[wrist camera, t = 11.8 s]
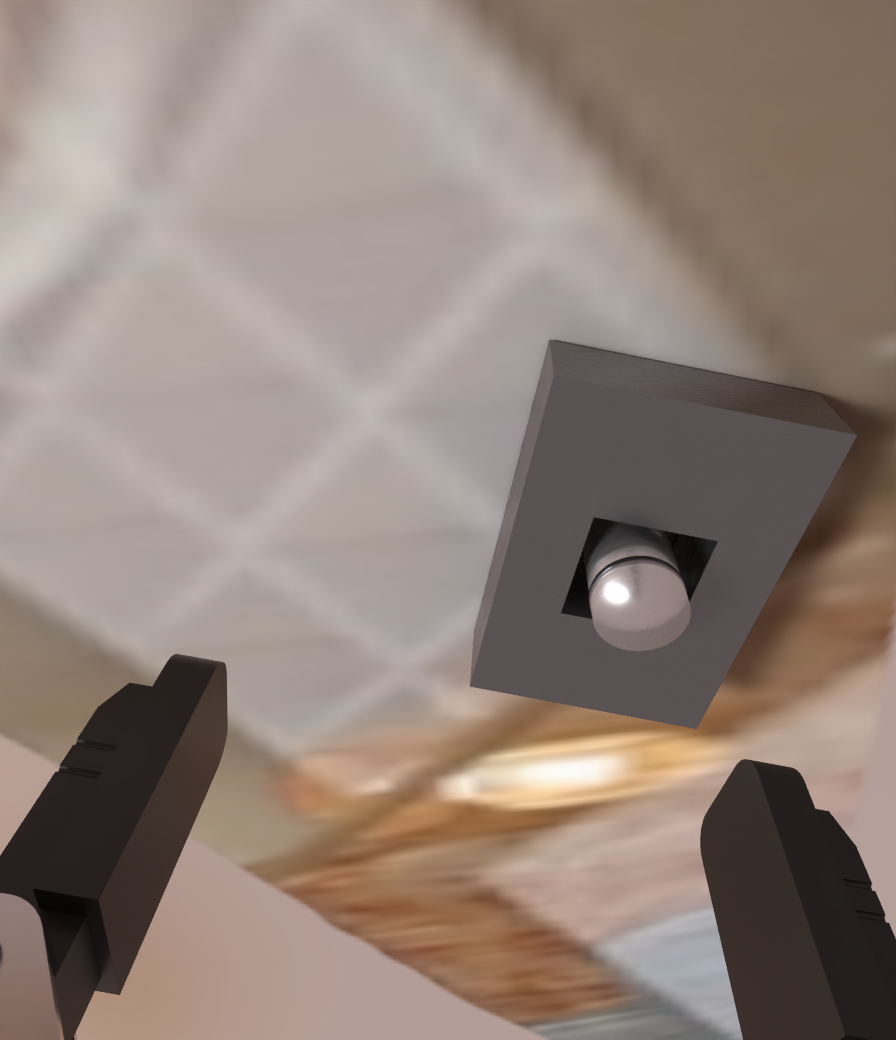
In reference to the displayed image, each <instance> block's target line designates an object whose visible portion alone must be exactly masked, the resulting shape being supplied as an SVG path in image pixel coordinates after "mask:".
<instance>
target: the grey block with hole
mask: <svg viewBox="0 0 896 1040" xmlns="http://www.w3.org/2000/svg"><path fill="white" fill-rule="evenodd" d="M856 437H857V434H856V433H855V432H854V431H853V430H852V429H851V428H850V427H849V426H848V425H847V424H846V423H845V422H844V421H843V419H842V418H841V417H840V416H839V415H838V414H837V413H836V412H835V411H834V410H833V409H832V408H831V407H830V406H829V405H828V404H827V403H826V401H825V400H824V399H823V398H822V397H821V396H820V395H819V394H818V393H815V392H810V391H805V390H800V389H795V388H790V387H785V386H780V385H775V384H770V383H765V382H760V381H755V380H749V379H744V378H739V377H734V376H729V375H724V374H719V373H714V372H709V371H704V370H699V369H694V368H689V367H684V366H679V365H674V364H669V363H664V362H659V361H654V360H649V359H644V358H639V357H634V356H629V355H624V354H619V353H614V352H608V351H603V350H598V349H593V348H588V347H583V346H578V345H573V344H568V343H563V342H558V341H553V340H549V343H548V347H547V351H546V355H545V359H544V363H543V367H542V371H541V374H540V378H539V382H538V386H537V390H536V394H535V398H534V402H533V405H532V409H531V413H530V417H529V421H528V425H527V429H526V433H525V436H524V440H523V444H522V448H521V452H520V456H519V460H518V464H517V467H516V471H515V475H514V479H513V483H512V487H511V491H510V495H509V498H508V502H507V506H506V510H505V514H504V518H503V522H502V526H501V529H500V533H499V537H498V541H497V545H496V549H495V553H494V556H493V560H492V564H491V568H490V572H489V576H488V580H487V584H486V587H485V591H484V595H483V599H482V603H481V607H480V611H479V615H478V618H477V622H476V626H475V630H474V641H473V653H472V666H471V679H470V687H476V688H481V689H486V690H492V691H497V692H502V693H508V694H513V695H518V696H524V697H529V698H534V699H540V700H545V701H550V702H556V703H561V704H566V705H572V706H577V707H582V708H588V709H593V710H599V711H604V712H609V713H615V714H620V715H625V716H631V717H636V718H641V719H647V720H652V721H657V722H663V723H668V724H673V725H679V726H684V727H689V728H695V729H697V727H698V725H699V724H700V722H701V720H702V718H703V716H704V714H705V713H706V711H707V709H708V707H709V705H710V703H711V702H712V700H713V698H714V696H715V694H716V692H717V691H718V689H719V687H720V685H721V683H722V682H723V680H724V678H725V676H726V674H727V672H728V671H729V669H730V667H731V665H732V663H733V661H734V660H735V658H736V656H737V654H738V652H739V651H740V649H741V647H742V645H743V643H744V641H745V640H746V638H747V636H748V634H749V632H750V630H751V629H752V627H753V625H754V623H755V621H756V619H757V618H758V616H759V614H760V612H761V610H762V609H763V607H764V605H765V603H766V601H767V599H768V598H769V596H770V594H771V592H772V590H773V588H774V587H775V585H776V583H777V581H778V579H779V578H780V576H781V574H782V572H783V570H784V568H785V567H786V565H787V563H788V561H789V559H790V557H791V556H792V554H793V552H794V550H795V548H796V547H797V545H798V543H799V541H800V539H801V537H802V536H803V534H804V532H805V530H806V528H807V526H808V525H809V523H810V521H811V519H812V517H813V515H814V514H815V512H816V510H817V508H818V506H819V505H820V503H821V501H822V499H823V497H824V495H825V494H826V492H827V490H828V488H829V486H830V484H831V483H832V481H833V479H834V477H835V475H836V474H837V472H838V470H839V468H840V466H841V464H842V463H843V461H844V459H845V457H846V455H847V453H848V452H849V450H850V448H851V446H852V444H853V442H854V441H855V439H856ZM594 517H596V518H601V519H606V520H611V521H617V522H622V523H627V524H632V525H637V526H642V527H648V528H653V529H658V530H663V531H668V532H673V533H679V534H678V536H677V539H676V541H675V543H674V546H673V548H672V550H673V554H674V557H675V560H676V563H677V566H678V569H679V572H680V574H681V576H682V578H683V581H684V584H685V587H686V590H687V597H688V600H689V603H690V607H691V616H690V620H689V623H688V625H687V627H686V629H685V630H684V631H683V633H682V634H681V635H680V636H679V637H678V638H676V639H675V640H674V641H672V642H670V643H669V644H667V645H665V646H662V647H660V648H657V649H653V650H647V651H629V650H624V649H620V648H617V647H615V646H613V645H611V644H609V643H608V642H606V641H605V640H604V639H602V638H601V636H600V635H599V634H598V633H597V631H596V629H595V627H594V624H593V618H592V613H591V609H590V604H589V589H588V582H587V575H586V567H585V566H584V565H579V564H578V562H579V559H580V556H581V553H582V550H583V547H584V544H585V541H586V538H587V535H588V532H589V529H590V527H591V524H592V521H593V518H594Z"/></svg>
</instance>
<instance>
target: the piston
mask: <svg viewBox="0 0 896 1040" xmlns="http://www.w3.org/2000/svg"><path fill="white" fill-rule="evenodd" d="M583 553H584V560H585V567H586V575H587V582H588V589H589V604H590V609H591V613H592V618H593V624H594V627H595V629H596V631H597V633H598V634H599V635H600V636H601V638H602V639H604V640H605V641H606V642H608V643H609V644H611V645H613V646H615V647H617V648H620V649H624V650H629V651H647V650H653V649H657V648H660V647H662V646H665V645H667V644H669V643H670V642H672V641H674V640H675V639H676V638H678V637H679V636H680V635H681V634H682V633H683V631H684V630H685V629H686V627H687V625H688V623H689V620H690V616H691V607H690V603H689V600H688V597H687V590H686V587H685V584H684V581H683V578H682V576H681V574H680V572H679V569H678V566H677V563H676V560H675V557H674V554H673V550H672V547H671V544H670V541H669V538H668V535H667V532H666V531H663V530H658V529H653V528H648V527H642V526H637V525H632V524H627V523H622V522H617V521H611V520H606V519H601V518H596V517H594V518H593V521H592V524H591V527H590V529H589V532H588V535H587V538H586V541H585V544H584V547H583Z"/></svg>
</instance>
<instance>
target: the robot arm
mask: <svg viewBox="0 0 896 1040" xmlns="http://www.w3.org/2000/svg"><path fill="white" fill-rule="evenodd" d="M227 727H228V721H227V671H226V665H225V663H224V662H219V661H213V660H208V659H202V658H197V657H191V656H186V655H180V654H175V655H173V656H172V657H171V658H170V659H169V660H168V662H167V663H166V665H165V666H164V668H163V670H162V671H161V673H160V675H159V676H158V678H157V680H156V681H155V683H154V685H153V687H151V686H145V685H140V684H134V683H129V684H127V685H126V686H125V687H124V688H122V689H121V690H120V691H118V692H117V693H116V694H114V695H113V696H112V697H111V698H109V699H108V700H107V701H105V702H104V703H103V704H102V705H100V706H99V707H98V708H97V710H96V711H95V713H94V714H93V716H92V717H91V719H90V720H89V722H88V723H87V725H86V726H85V728H84V729H83V731H82V732H81V734H80V735H79V737H78V738H77V743H76V745H73V746H72V748H71V749H70V751H69V752H68V754H67V755H66V757H65V758H64V760H63V761H62V763H61V764H60V769H59V771H58V772H55V773H54V775H53V776H52V778H51V780H50V781H49V782H48V784H47V786H46V787H45V789H44V790H43V792H42V793H41V795H40V796H39V798H38V799H37V801H36V802H35V804H34V805H33V807H32V808H31V810H30V812H29V813H28V814H27V816H26V817H25V819H24V820H23V822H22V823H21V825H20V827H19V828H18V830H17V831H16V833H15V834H14V836H13V837H12V839H11V840H10V842H9V843H8V845H7V846H6V848H5V849H4V851H3V852H2V854H1V855H0V1040H77V1037H76V1030H77V1028H78V1026H79V1024H80V1022H81V1020H82V1017H83V1015H84V1013H85V1011H86V1009H87V1007H88V1004H89V1002H90V1000H91V998H92V996H93V994H94V991H100V992H106V993H111V994H117V995H120V993H121V991H122V988H123V986H124V984H125V981H126V979H127V976H128V975H129V972H130V970H131V968H132V965H133V963H134V961H135V958H136V956H137V954H138V951H139V949H140V946H141V944H142V942H143V940H144V937H145V935H146V933H147V930H148V928H149V926H150V924H151V921H152V919H153V917H154V914H155V912H156V910H157V907H158V905H159V903H160V900H161V898H162V896H163V893H164V891H165V889H166V887H167V884H168V882H169V879H170V877H171V875H172V873H173V870H174V868H175V866H176V863H177V861H178V859H179V856H180V854H181V852H182V849H183V847H184V845H185V843H186V840H187V838H188V836H189V833H190V831H191V829H192V826H193V824H194V822H195V819H196V817H197V815H198V812H199V810H200V808H201V805H202V803H203V801H204V799H205V796H206V794H207V792H208V789H209V787H210V785H211V782H212V780H213V778H214V775H215V773H216V771H217V768H218V766H219V763H220V760H221V757H222V754H223V750H224V746H225V742H226V736H227ZM700 847H701V855H702V860H703V865H704V869H705V874H706V878H707V882H708V887H709V891H710V896H711V900H712V904H713V909H714V913H715V918H716V922H717V926H718V931H719V935H720V940H721V944H722V948H723V953H724V957H725V962H726V966H727V970H728V975H729V979H730V984H731V988H732V992H733V997H734V1001H735V1005H736V1010H737V1014H738V1019H739V1023H740V1027H741V1032H742V1036H743V1040H896V938H895V936H894V934H893V931H892V929H891V927H890V924H889V923H886V922H885V913H884V910H883V908H882V906H881V903H880V901H879V899H878V896H877V894H876V892H875V891H872V889H871V885H872V883H871V880H870V878H869V875H868V873H867V871H866V868H865V866H864V864H863V861H862V859H861V857H860V854H859V852H858V850H857V847H856V845H855V844H854V843H853V842H852V840H851V839H850V838H849V837H848V835H847V834H846V833H845V831H844V830H843V829H842V828H841V826H840V825H839V824H838V823H837V821H836V820H835V819H834V817H833V816H832V815H831V814H830V812H829V811H824V810H819V809H815V807H814V804H813V802H812V799H811V797H810V794H809V791H808V789H807V786H806V784H805V781H804V779H803V777H802V776H801V774H800V773H799V772H798V771H797V770H796V769H794V768H791V767H785V766H780V765H774V764H769V763H763V762H758V761H752V760H747V759H744V760H741V761H740V762H739V763H738V764H737V765H736V766H735V768H734V770H733V771H732V773H731V774H730V776H729V778H728V779H727V781H726V782H725V784H724V786H723V787H722V789H721V790H720V792H719V794H718V795H717V797H716V798H715V800H714V802H713V803H712V805H711V806H710V808H709V810H708V811H707V813H706V815H705V817H704V820H703V823H702V828H701V836H700Z"/></svg>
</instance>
